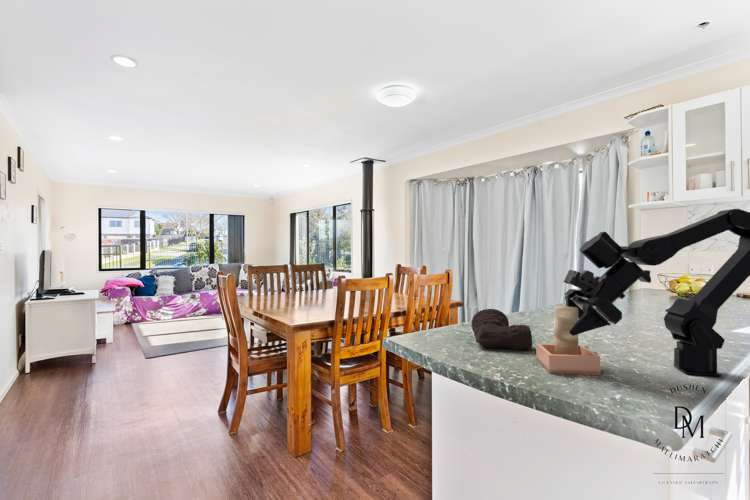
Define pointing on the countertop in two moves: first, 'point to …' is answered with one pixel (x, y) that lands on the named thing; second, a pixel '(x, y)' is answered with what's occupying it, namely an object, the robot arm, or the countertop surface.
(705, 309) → the robot arm
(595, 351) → the handle
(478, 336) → the dark brown elbow
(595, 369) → the box
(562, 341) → the beech dowel
